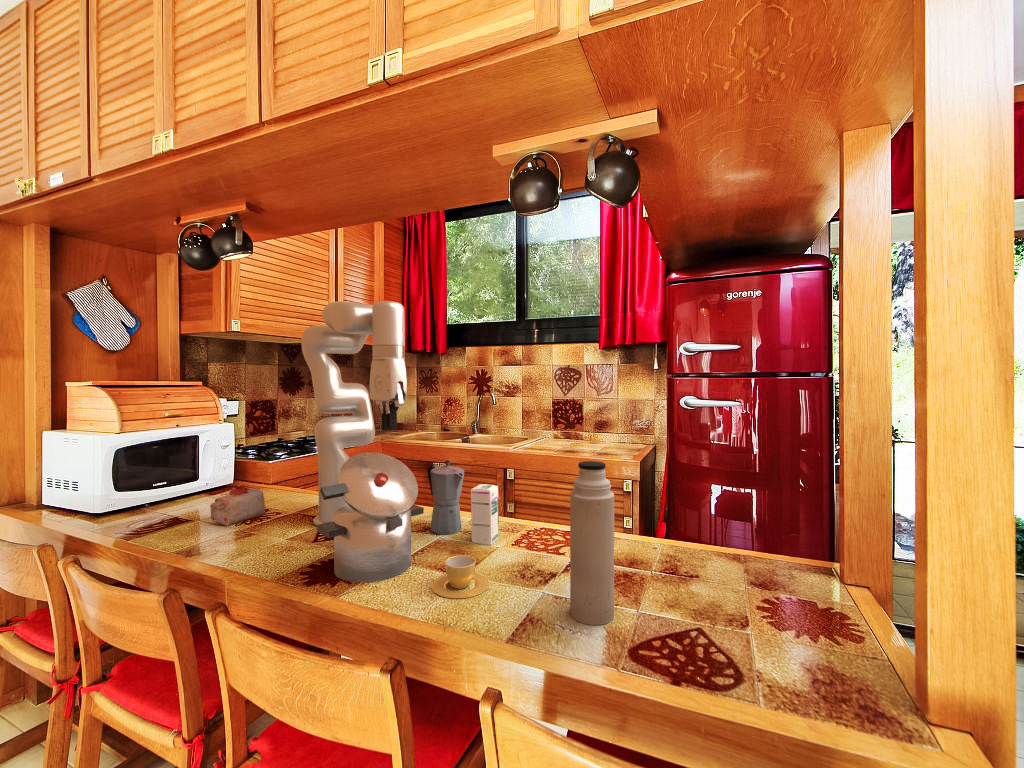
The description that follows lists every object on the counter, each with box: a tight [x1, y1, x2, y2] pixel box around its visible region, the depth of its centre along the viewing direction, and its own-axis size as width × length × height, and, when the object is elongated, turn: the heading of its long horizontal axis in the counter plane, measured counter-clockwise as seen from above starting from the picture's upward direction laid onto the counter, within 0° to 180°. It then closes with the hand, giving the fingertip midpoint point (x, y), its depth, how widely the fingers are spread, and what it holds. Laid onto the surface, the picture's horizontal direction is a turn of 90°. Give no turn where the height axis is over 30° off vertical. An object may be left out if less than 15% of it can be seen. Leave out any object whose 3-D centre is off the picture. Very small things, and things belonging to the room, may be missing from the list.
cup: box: [430, 554, 490, 599], centre depth 97 cm, size 12×12×5 cm
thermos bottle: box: [569, 460, 615, 626], centre depth 85 cm, size 8×8×28 cm
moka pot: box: [426, 460, 465, 535], centre depth 131 cm, size 10×15×20 cm, turn 53°
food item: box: [209, 487, 266, 527], centre depth 141 cm, size 14×8×10 cm, turn 157°
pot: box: [316, 503, 425, 583], centre depth 106 cm, size 18×24×13 cm
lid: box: [320, 451, 419, 519], centre depth 102 cm, size 18×22×3 cm
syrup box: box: [470, 483, 500, 546], centre depth 123 cm, size 6×6×14 cm
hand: (389, 429), depth 111 cm, fingers closed
